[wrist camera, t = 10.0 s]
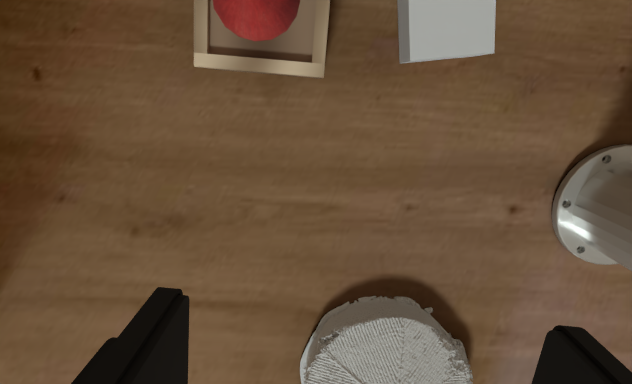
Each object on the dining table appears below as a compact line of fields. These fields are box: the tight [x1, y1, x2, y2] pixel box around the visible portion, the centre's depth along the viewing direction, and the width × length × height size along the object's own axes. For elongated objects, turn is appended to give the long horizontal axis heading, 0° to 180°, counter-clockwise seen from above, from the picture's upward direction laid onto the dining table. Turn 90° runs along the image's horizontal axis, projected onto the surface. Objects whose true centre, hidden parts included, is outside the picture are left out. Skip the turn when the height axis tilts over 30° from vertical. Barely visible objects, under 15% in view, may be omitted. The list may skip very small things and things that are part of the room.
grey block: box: [398, 0, 496, 63], centre depth 33 cm, size 7×7×4 cm
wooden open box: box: [194, 0, 330, 79], centre depth 32 cm, size 10×10×7 cm
